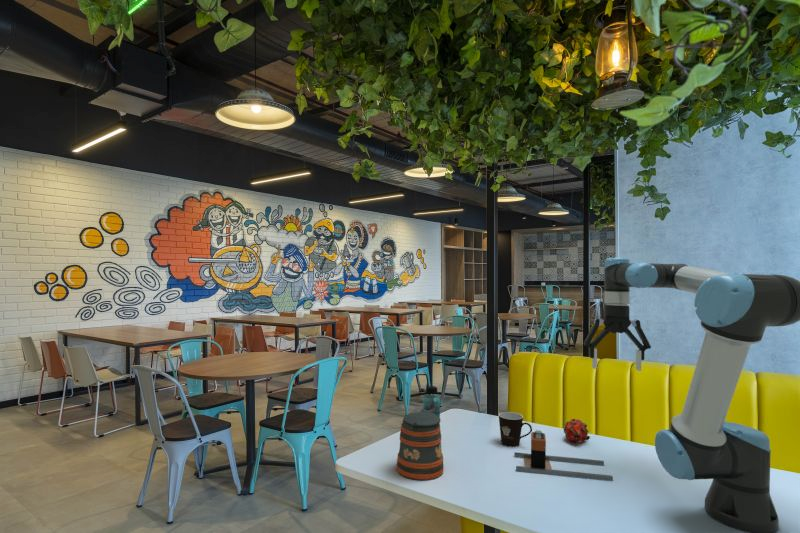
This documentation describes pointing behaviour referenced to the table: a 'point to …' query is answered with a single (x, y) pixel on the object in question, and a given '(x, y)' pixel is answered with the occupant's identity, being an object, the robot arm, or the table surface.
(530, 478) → the table surface
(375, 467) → the table surface
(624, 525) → the table surface
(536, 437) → the battery
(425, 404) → the beverage bottle
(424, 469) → the beer stein
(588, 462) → the rail
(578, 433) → the dragon fruit
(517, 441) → the coffee mug
